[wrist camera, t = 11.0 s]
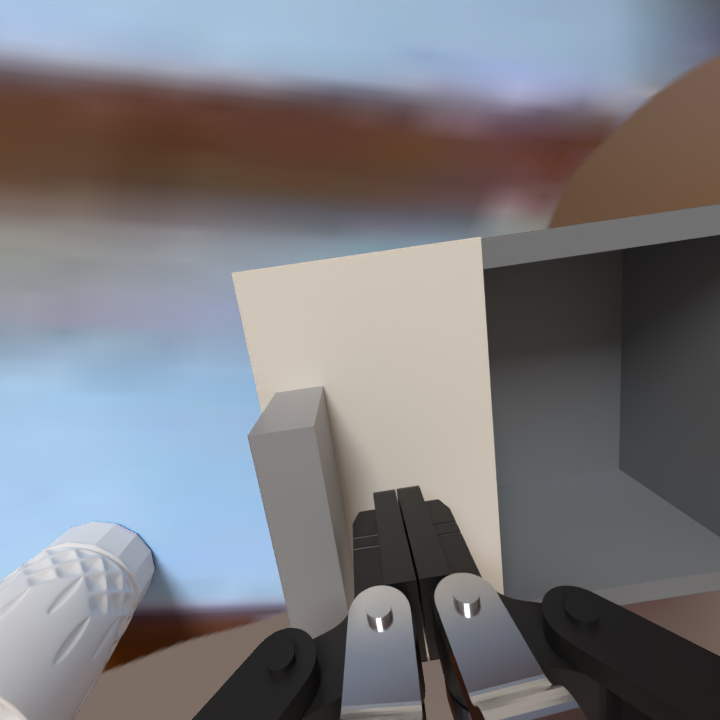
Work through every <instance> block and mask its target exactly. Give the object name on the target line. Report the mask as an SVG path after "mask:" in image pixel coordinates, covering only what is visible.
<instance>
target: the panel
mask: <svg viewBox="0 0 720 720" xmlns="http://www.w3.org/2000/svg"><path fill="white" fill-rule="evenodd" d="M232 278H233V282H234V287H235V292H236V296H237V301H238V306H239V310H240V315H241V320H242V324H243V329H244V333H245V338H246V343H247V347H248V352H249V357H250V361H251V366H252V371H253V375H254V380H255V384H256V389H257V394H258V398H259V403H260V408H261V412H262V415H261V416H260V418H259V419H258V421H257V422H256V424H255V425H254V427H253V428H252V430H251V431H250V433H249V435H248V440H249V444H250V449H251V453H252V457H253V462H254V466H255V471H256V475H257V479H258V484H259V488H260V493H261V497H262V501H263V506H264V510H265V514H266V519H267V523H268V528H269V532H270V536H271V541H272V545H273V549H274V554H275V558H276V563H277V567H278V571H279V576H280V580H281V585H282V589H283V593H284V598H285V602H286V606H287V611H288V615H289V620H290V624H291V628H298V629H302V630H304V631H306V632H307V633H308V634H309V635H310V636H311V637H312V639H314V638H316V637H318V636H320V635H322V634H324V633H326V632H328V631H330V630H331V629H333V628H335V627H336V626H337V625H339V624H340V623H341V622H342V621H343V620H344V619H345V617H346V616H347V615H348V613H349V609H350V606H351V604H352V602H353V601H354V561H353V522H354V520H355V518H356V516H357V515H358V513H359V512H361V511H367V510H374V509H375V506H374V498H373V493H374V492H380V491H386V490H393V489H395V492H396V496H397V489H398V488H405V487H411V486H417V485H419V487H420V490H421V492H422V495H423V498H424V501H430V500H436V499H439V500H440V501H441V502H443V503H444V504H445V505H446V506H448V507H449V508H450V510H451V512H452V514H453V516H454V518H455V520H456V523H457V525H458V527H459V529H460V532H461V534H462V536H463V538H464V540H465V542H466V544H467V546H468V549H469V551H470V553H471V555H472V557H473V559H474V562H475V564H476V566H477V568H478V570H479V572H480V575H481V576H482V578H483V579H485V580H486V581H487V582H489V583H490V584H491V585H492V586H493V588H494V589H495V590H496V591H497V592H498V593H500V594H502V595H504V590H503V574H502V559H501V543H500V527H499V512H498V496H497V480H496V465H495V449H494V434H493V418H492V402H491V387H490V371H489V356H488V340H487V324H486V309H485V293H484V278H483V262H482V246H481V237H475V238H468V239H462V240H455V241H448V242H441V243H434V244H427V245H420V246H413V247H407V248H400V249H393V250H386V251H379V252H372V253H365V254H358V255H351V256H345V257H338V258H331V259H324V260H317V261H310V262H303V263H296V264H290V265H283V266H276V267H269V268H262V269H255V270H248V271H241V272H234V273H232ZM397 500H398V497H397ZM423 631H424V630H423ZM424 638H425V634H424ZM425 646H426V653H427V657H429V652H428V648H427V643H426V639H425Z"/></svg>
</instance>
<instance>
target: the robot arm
mask: <svg viewBox="0 0 720 720" xmlns="http://www.w3.org/2000/svg"><path fill="white" fill-rule="evenodd" d="M397 497H398V500H397ZM373 498H374V506H375V509H374V510H367V511H361V512H359V513H358V515H357V516H356V518H355V520H354V522H353V561H354V601H353V602H352V604H351V606H350V609H349V613H348V615H347V616H346V617H345V619H344V620H343V621H342V622H341V623H340V624H339V625H337V626H336V627H335V628H333V629H331V630H330V631H328V632H326V633H324V634H322V635H320V636H318V637H316V638H314V639H312V637H311V636H310V635H309V634H308V633H307V632H306V631H304V630H302V629H298V628H286V629H282V630H279V631H277V632H275V633H273V634H272V635H270V636H269V637H267V638H266V639H265V640H264V641H263V642H262V643H261V644H260V645H259V646H258V647H257V648H256V649H255V650H254V651H253V653H252V654H251V655H250V656H249V657H248V658H247V659H246V660H245V661H244V662H243V664H242V665H241V666H240V667H239V668H238V669H237V670H236V671H235V672H234V674H233V675H232V676H231V677H230V678H229V679H228V680H227V681H226V683H225V684H224V685H223V686H222V687H221V688H220V689H219V691H217V692H216V694H215V695H214V696H213V697H212V698H211V699H210V700H209V701H208V702H207V704H206V705H205V706H204V707H203V708H202V709H201V710H200V711H199V713H197V715H196V716H195V717H194V718H193V719H192V720H426V711H425V704H424V698H425V683H424V676H423V669H422V662H426V661H428V660H427V653H426V646H425V639H426V643H427V648H428V652H429V657H430V660H436V659H440V662H441V665H442V670H443V674H444V678H445V685H446V693H447V698H448V702H449V705H450V709H451V712H452V715H453V718H454V720H720V656H718V655H716V654H714V653H712V652H710V651H708V650H706V649H704V648H702V647H700V646H698V645H696V644H694V643H692V642H690V641H688V640H686V639H684V638H682V637H681V636H678V635H676V634H675V633H672V632H671V631H669V630H666V629H665V628H663V627H661V626H659V625H656V624H655V623H653V622H651V621H649V620H647V619H645V618H643V617H641V616H639V615H637V614H635V613H633V612H631V611H629V610H627V609H625V608H623V607H621V606H619V605H617V604H615V603H613V602H611V601H609V600H607V599H605V598H603V597H601V596H599V595H597V594H595V593H593V592H591V591H589V590H586V589H583V588H580V587H576V586H568V585H566V586H558V587H555V588H552V589H550V590H549V591H548V592H547V593H546V594H545V595H544V597H543V600H542V603H538V602H531V601H523V600H517V599H513V598H510V597H507V596H504V595H502V594H500V593H498V592H497V591H496V590H495V589H494V588H493V586H492V585H491V584H490V583H489V582H487V581H486V580H485V579H483V578H482V576H481V575H480V572H479V570H478V568H477V566H476V564H475V562H474V559H473V557H472V555H471V553H470V551H469V549H468V546H467V544H466V542H465V540H464V538H463V536H462V534H461V532H460V529H459V527H458V525H457V523H456V520H455V518H454V516H453V514H452V512H451V510H450V508H449V507H448V506H446V505H445V504H444V503H443V502H441V501H440V500H439V499H436V500H430V501H424V498H423V495H422V492H421V490H420V487H419V485H417V486H411V487H405V488H398V489H397V496H396V492H395V489H393V490H386V491H380V492H374V493H373ZM423 630H424V631H423ZM424 634H425V638H424Z"/></svg>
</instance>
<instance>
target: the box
mask: <svg viewBox="0 0 720 720" xmlns="http://www.w3.org/2000/svg"><path fill="white" fill-rule="evenodd" d="M481 246H482V262H483V278H484V293H485V309H486V324H487V340H488V356H489V371H490V387H491V402H492V418H493V434H494V449H495V465H496V480H497V496H498V512H499V527H500V543H501V559H502V574H503V590H504V596H507V597H510V598H513V599H517V600H523V601H531V602H538V603H542V600H543V597H544V595H545V594H546V593H547V592H548V591H549V590H550V589H552V588H555V587H558V586H566V585H568V586H576V587H580V588H583V589H586V590H589V591H591V592H593V593H595V594H597V595H599V596H601V597H603V598H605V599H607V600H609V601H611V602H613V603H615V604H617V605H626V604H632V603H639V602H644V601H652V600H658V599H665V598H672V597H678V596H685V595H691V594H697V593H704V592H711V591H717V590H720V204H717V205H710V206H704V207H696V208H689V209H683V210H675V211H669V212H662V213H655V214H648V215H641V216H634V217H628V218H621V219H614V220H607V221H600V222H594V223H586V224H579V225H573V226H565V227H558V228H552V229H545V230H538V231H531V232H524V233H517V234H510V235H503V236H497V237H490V238H483V239H481Z"/></svg>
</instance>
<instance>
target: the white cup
mask: <svg viewBox="0 0 720 720" xmlns="http://www.w3.org/2000/svg"><path fill="white" fill-rule="evenodd" d="M154 571H155V567H154V563H153V558H152V554H151V550H150V549H149V548H148V546H147V545H146V544H145V543H144V542H143V541H142V539H141V538H140V537H139V536H138V535H137V534H136V533H134V532H132V531H130V530H128V529H126V528H124V527H123V526H121V525H119V524H116V523H108V522H98V521H91V522H88V523H85V524H81V525H78V526H75V527H71V528H70V529H68V530H67V531H66V532H65V533H64V534H62V535H61V536H60V537H59V538H57V539H56V540H55V541H54V542H53V543H51V544H50V545H49V546H48V547H47V548H45V549H44V550H43V551H41V552H40V553H39V554H38V555H36V556H35V557H34V558H32V559H31V560H29V561H27V562H25V563H23V564H22V565H21V566H20V567H19V568H17V569H16V570H14V571H13V572H12V573H10V574H9V575H8V576H7V577H5V578H4V579H3V580H2V581H0V720H74V719H75V717H76V716H77V714H78V712H79V711H80V709H81V707H82V705H83V704H84V702H85V700H86V699H87V697H88V695H89V693H90V691H91V690H92V688H93V687H94V685H95V683H96V682H97V680H98V678H99V676H100V675H101V673H102V671H103V670H104V668H105V666H106V664H107V662H108V660H109V659H110V657H111V655H112V653H113V651H114V650H115V648H116V646H117V644H118V642H119V640H120V639H121V637H122V636H123V634H124V632H125V630H126V629H127V627H128V625H129V623H130V621H131V619H132V617H133V614H134V612H135V610H136V609H137V607H138V605H139V604H140V602H141V600H142V599H143V597H144V595H145V594H146V592H147V590H148V588H149V586H150V583H151V580H152V577H153V574H154Z"/></svg>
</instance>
